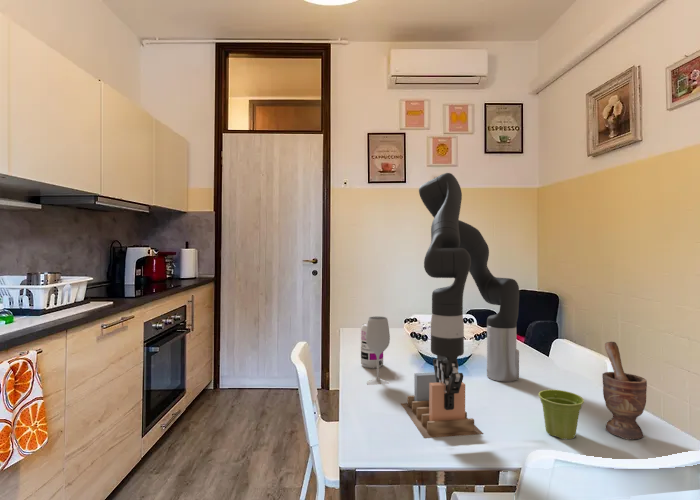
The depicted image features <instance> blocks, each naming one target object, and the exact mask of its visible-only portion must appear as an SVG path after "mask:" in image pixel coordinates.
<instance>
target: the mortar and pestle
mask: <svg viewBox="0 0 700 500" xmlns="http://www.w3.org/2000/svg"><path fill="white" fill-rule="evenodd" d="M604 348H605V352H606V355H607V357H608V359H609V361H610V365H611V368H612V370H613V371H605V372H603V373H602V375H601V376H602V395H603V400H604V403H605V407H606V408H607V410H608V411H609V412H610V413H611V414H612V418H610V419H609V420H607V421H606V424H605V431H607V432H608V433H610V434H612V435H615V436H616V437H619V438H622V439H625V440H628V441H629V440H637V439H642V438H644V433H643V430H642V428H641V426H640V425H639V424H638V422H637V421H636V420H637V418H638V417H640V416H641V415H643V413H644V411H645V407H646V404H647V392H648V391H647V390H648V389H647V388H648V382H647V379H645V378H644V377H642V376H639V375H636V374H631V373H626V372H625V370H624V368H623V364H622V359H621V354H620V349H619V346H618V344H617V343H616V342H615V341H608V342H607V341H606V342H605V343H604Z"/></svg>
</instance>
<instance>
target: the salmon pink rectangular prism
mask: <svg viewBox="0 0 700 500" xmlns="http://www.w3.org/2000/svg"><path fill="white" fill-rule="evenodd" d="M447 386H448V385H447ZM465 411H466V383H464V382H463V381H462V384H461V387H460V390H459V393H455V394H454V409H453V410H446V409H445V408H444V383H443V382H438V383H429V421H439V420H455V419H465Z"/></svg>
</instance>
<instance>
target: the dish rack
mask: <svg viewBox="0 0 700 500" xmlns="http://www.w3.org/2000/svg"><path fill="white" fill-rule="evenodd" d="M400 405H401V407H402V408H403V409H404V411H405V412H406V414H407V416H408V417H409V418H410V420H411V421H412V423H413V424H414V425H415V428H416V429H417V430H418V431H419V433H420V434H421V436H422V437H423V439H430V438H431V439H433V438H446V437H459V436H460V437H461V436H462V437H463V436H473V435H484V432H483V431H482V430H480V429H479V428H478V427H477V425H476V424H475V419H474V418H473V417H472V418H471V417H470V418H468V413H467V411H466V410H465V419H455V420H439V421H429V401H414V395H407V402H404V403H400Z"/></svg>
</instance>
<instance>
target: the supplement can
mask: <svg viewBox="0 0 700 500" xmlns="http://www.w3.org/2000/svg"><path fill="white" fill-rule="evenodd" d="M367 324H368V322H366V323H363V324H362V326H361V327H360V364H361V365H362V367H363V368H366V369H377V357H376V354H375V353H374V352H372V351H371V350H370V348H369V347H368V346H367V343H366V331H367ZM383 365H384V352H382V353H381V354H380V356H379V368H381V367H383Z"/></svg>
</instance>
